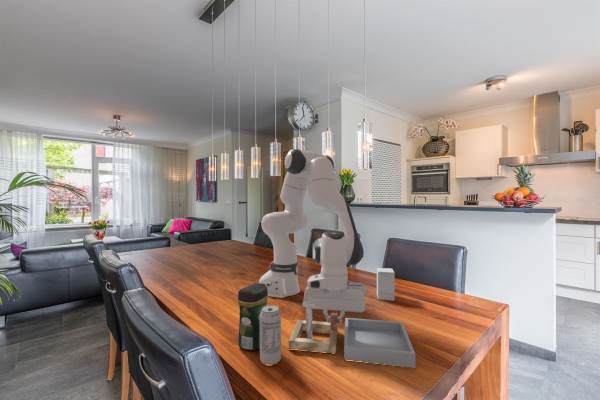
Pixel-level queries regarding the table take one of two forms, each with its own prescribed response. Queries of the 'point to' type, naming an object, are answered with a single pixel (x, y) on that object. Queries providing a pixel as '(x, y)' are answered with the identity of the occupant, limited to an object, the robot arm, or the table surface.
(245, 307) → the coffee jar
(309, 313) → the rod
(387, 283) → the supplement box
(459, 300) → the table surface
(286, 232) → the robot arm
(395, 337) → the tray
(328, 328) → the ring
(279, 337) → the energy drink can
